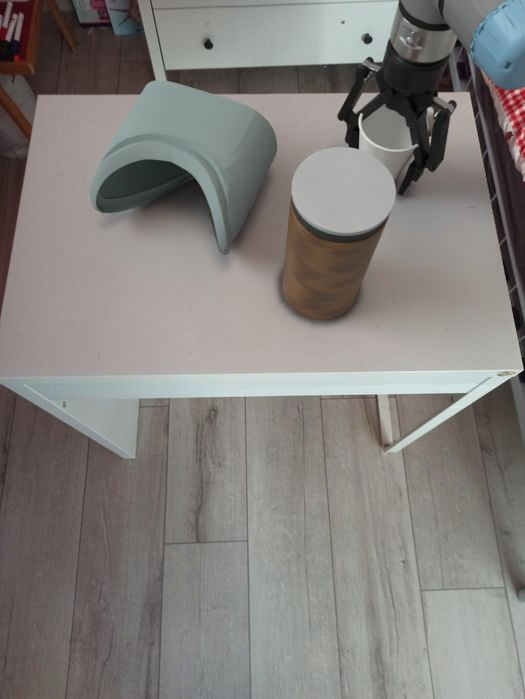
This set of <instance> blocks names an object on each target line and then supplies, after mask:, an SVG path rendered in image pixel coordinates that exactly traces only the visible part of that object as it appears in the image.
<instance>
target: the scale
mask: <svg viewBox="0 0 525 699" xmlns="http://www.w3.org/2000/svg"><path fill="white" fill-rule="evenodd" d="M290 191H291V192H290V193H292V203H293V208H294V212H295V214H296V217H297V218H298V220H299V221H300V223H301V224H302V225H303V226H304V227H305V228H306V229H307V230H308V231H309V232H311V233H312V234H314V235H315V236H317V237H319V238H322V239H324V240H327V241H331V242H337V243H350V242H356V241H359V240H363V239H365V238H367V237H369V236H371V235H372V234H374V233H375V232H376V231H377V230H379V228H380V227H381V226H382V225H383V223H384V222H385V220H386V218H387V217H388V216H389V217H390V215H389V214H391V213H392V211H393V208H394V206H395V203H396V199H397V198H396V197H397V187H396V181H395V182H394V179H393V177H392V175H391V173H390V171H389V170H388V169H387V167H386V166H385V165H384V164H383V163H382V162H381V161H380V160H378V159H377V158H376V157H374V156H373V155H371V154H369V153H367V152H365V151H362V150H359V149H355V148H349V147H348V146H333V147H327V148H323V149H320V150H318V151H315V152H313V153H312V154H310V155H309V156H307V157H306V158H305V159H303V161H302V162H301V163H300V164H299V165H298V166H297V167H296V169H295V171H294V174H293V177H292V180H291V190H290Z"/></svg>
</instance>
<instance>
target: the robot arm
mask: <svg viewBox="0 0 525 699" xmlns="http://www.w3.org/2000/svg"><path fill="white" fill-rule="evenodd" d="M457 40H458V41H459V42H460V43H461V45H462V46H463V48H464V49H465V50H466V52H467V53H468V54H469V56H470V58H471V60H472V62H473V64H475V66H476V67H477V68H478V70H479V69H480V70H481V71H483V73H484V74H485V75H486V76H488V78H489V79H490V80H491V81H492V82H493V83H494V84H495V86H496V87H498V88H500V89H502V90H505V91H515V90H521V89H524V88H525V0H398V3H397V6H396V10H395V14H394V17H393V21H392V25H391V29H390V32H389V38H388V40H387V44H386V48H385V51H384V55H383V58H382V62H381V66H380V65H377V64H375V60H374V57H372V56H367V57H366V58H365V59H364V60H363V61H362V62H361V64H359V66H358V67H357V68H356V71H355V80H354V83H353V84H352V86H351V89H350V90H349V92H348V94H347V96H346V98H345V100H344V101H343V104H342V106H341V107H340V109H339V111H338V113H337V115H336V118H337V120H338V121H340V122H344V123H345V124H346V131H345V137H344V142H345V143H346V144H347V145H348V146H347V147H349V148H355V149H359V135H360V129H359V116H360V114H361V113H362V114H363V117H362V121H364V120H365V119H366V118H367V117H369V116H370V115H371V114H372V113H373V112H375V111H376V110H378V109H379V108H380V107H381V106H383V105H384V104H385V105H386V108H388V109H390V110H393V111H396V112H397V113H398V114H400V115H401V116H403V117H405V120H406V126H407V127H409V130H410V136H411V142H412V146H414V145H415V144H418V145H419V146H418V147H416V148H415V149H414V151H413V160H412V161H411V163H410V164H408V167H407V170H406V172H405V175H404V177H403V179H402V182H401V185H400V187H399V189H398V191H397V195H399V196H400V197H402V196H403V195H404V194H405V193H406V192H407V190H408V189H409V187H410V186H411V185H412V182H414V183H417V182H418V181H419V180H420V178H421V177H422V176H423V174H424V172H425V170H426V169H427V170H428V171H429V172H430V173H434V172H436V170H437V169H438V168H439V167H440V165H441V164H442V162H443V161H444V160H445V153H446V148H447V140H448V135H449V130H450V129H449V128H450V123H451V117H452V115H453V113H454V112H455V110H456V109H457V107H458V103H457V101H455V100H454V99H450V100H449V101H448V102H447V101H445V100H444V99H442V98H441V97H440V96H439V91H438V90H439V85H440V82H441V79H442V77H443V75H444V72H445V70H446V68H447V64H448V63H449V59H450V58H451V53H452V51H453V50H454V48H455V46H456V44H457V43H456V42H457ZM374 78H375V82H376V85H377V87H378V91H379V93H378V94H377V95H376V96H374V97H373V98H372V99H371V100H370V101H368V103H366V104H365V105H364V106H363V107H362V108H360V110H358V111H357V112H355V111H354V109H355V107H356V105H357V103H358V101H359V100H360V98H361V97H362V94H363V93H364V91H365V89H366V87H367V86H368V84H369V83H370V82H371V81H373V79H374ZM429 108H432V110H433V111H432V112H433V113H432V120H433V121H434V122H433V125H432V128H431V136H429V131H428V127H427V120H428V119H427V120H426V117H427V115H428V109H429Z"/></svg>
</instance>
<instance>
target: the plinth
mask: <svg viewBox="0 0 525 699" xmlns="http://www.w3.org/2000/svg"><path fill="white" fill-rule="evenodd" d="M390 214H391V213H390ZM390 214H389V216H388V217H387V218H386V220H385V222H384V223H383V225H382V226H381V227H380V228H379V230H377V231H376V232H375V233H374V234H372V235H371V236H369V237H367V238H365V239H363V240H359V241H356V242H350V243H337V242H331V241H327V240H324V239H322V238H319V237H317V236H315V235H314V234H312V233H311V232H309V231H308V230H307V229H306V228H305V227H304V226H303V225H302V224H301V223H300V221H299V220H298V218H297V217H296V214H295V212H294V208H293V203H292V192H290V200H289V211H288V220H287V221H288V222H287V233H286V245H285V253H284V254H285V255H284V263H283V264H284V266H283V274H282V275H283V276H282V292H283V295H284V298H285V300H286V302H287V304H288V305H289V306H290V308H292V309H293V310H294V311H295V312H296V313H297V314H299V315H301V316H302V317H305V318H308V319H310V320H314V321H315V320H316V321H327V320H332V319H335V318H338V317H340V316H341V315H343V314H345V313H346V312H347V311H348V310H349V309H350V308H351V307H352V306H353V304H354V302H355V300H356V297H357V295H358V292H359V290H360V289H361V288H360V287H361V286H362V283H363V280H364V278H365V276H366V274H367V271H368V268H369V266H370V263H371V261H372V259H373V256H374V254H375V252H376V249H377V247H378V244H379V242H380V240H381V237H382V235H383V233H384V231H385V227H386V226H387V223H388V220H389V219H390V218H389V217H390Z"/></svg>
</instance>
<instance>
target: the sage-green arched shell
mask: <svg viewBox="0 0 525 699" xmlns="http://www.w3.org/2000/svg"><path fill="white" fill-rule="evenodd" d="M131 107H132V108H131V109H130V110H129V112H128V114H127V115H126V117H125V118H124V120H123V121H122V123H121V125H120V126H119V128H118V129H117V131H116V132H115V134H114V136H113V138H112V140H111V141H110V143H109V145H108V147H107V148H106V150H105V152H104V154H103V156H102V158H101V161H100V162H99V165H98V168H97V169H96V171H95V173H94V174H93V176H92V179H91V182H90V184H89V192H88V197H89V201H90V203H91V205H92V207H93V209H94V210H95V211H96V212H99V213H101V214H115V213H121V212H124V211H128V210H132V209H134V208H137V207H139V206H142V205H145V204H147V203H150V202H151V201H154V200H156V199H158V198H160V197H162V196H164V195H166V194H168V193H170V192H171V191H173V190H176V189H177V188H178V187H181V186H182V185H184V184H185V183H187V182H189V181H191V180H196V182H197V183H198V184H199V186H200V188H201V189H202V191H203V194H204V196H205V198H206V201H207V205H208V206H207V207H208V211H209V217H210V222H211V225H212V230H213V233H214V237H215V241H216V246H217V249H218V252H219V253H220V254H221V255H223V256H227V255H229V253H230V250H231V242H233V241H234V240H235V239H236V238H237V236H238V235H239V233H240V231H241V229H242V227H243V225H244V222H245V221H246V219H247V217H248V214H249V212H250V211H251V208H252V207H253V204H254V202H255V200H256V198H257V196H258V193H259V191H260V189H261V187H262V185H263V182H264V181H265V179H266V176H267V175H268V172H269V170H270V168H271V166H272V164H273V162H274V160H275V158H276V156H277V152H278V139H277V136H276V132H275V131H274V128H273V126H272V125H271V123H270V121H269V120H268V119H267V118H266V117H265V116H264V115H262V113H260V112H258V111H257V110H256V109H254V108H252V107H251V106H249V105H247V104H244V103H242V102H239V101H236V100H233V99H230V98H227V97H224V96H221V95H218V94H214V93H212V92H207V91H205V90H201V89H197V88H194V87H191V86H189V85H185V84H181V83H178V82H173V81H169V80H164V79H161V80H160V79H159V80H151V81H150V82H148V83H147V84H146V85H145V86H144V88H143V89H142V91H141V93H140V95H139V96H138V98H137V99H136V101H135V102H134V104H133V106H131Z"/></svg>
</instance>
